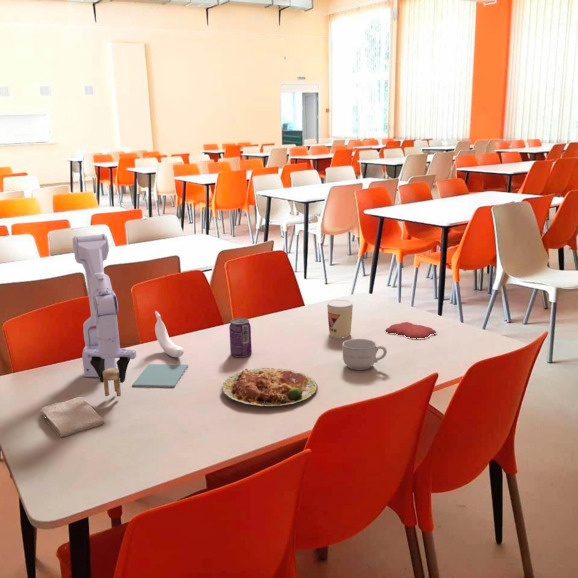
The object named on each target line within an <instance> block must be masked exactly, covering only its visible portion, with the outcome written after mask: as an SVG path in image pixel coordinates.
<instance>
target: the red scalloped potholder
mask: <svg viewBox="0 0 578 578" xmlns="http://www.w3.org/2000/svg"><path fill="white" fill-rule="evenodd" d="M385 331H386V332H388V333H396V334H398V335H405V336H406V337H410V338H416V339H417V338H425V337H428V336H429V335H430V334H434V333H436V332H437V331H436V330H435V329H433V328H431V327H428V326H425V325H421V324H414V323H412V322H409V321H405V322H400V323H395V324H392V325H390V326H389V327H387V328H386V329H385V330H384V332H385ZM386 332H385V333H386ZM388 333H387V334H388ZM396 334H395V335H396ZM398 335H397V336H398ZM406 337H405V338H406Z"/></svg>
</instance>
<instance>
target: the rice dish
mask: <svg viewBox="0 0 578 578" xmlns="http://www.w3.org/2000/svg"><path fill="white" fill-rule="evenodd" d="M308 387H309V388H308ZM221 390H222V392H223V393H224V395H226V396H227V398H230V399H231V400H233V401H236V402H238V403H241V404H247V405H252V406H255V405H256V406H257V407H262V406H265V407H275V406H286V405H287V406H288V405H292V404H295V403H298V402H303V401H306V400H308V399H310V397H312V396H313V395H314V394H315V393H316V392H317V390H318V383H316V381H315V380H314V379H313V378H312V377H310V376H308V375H306V374H305V373H302V372H299V371H296V370H290V369H285V368H277V367H272V368H270V367H262V368H254V369H248V368H244V369H242V371H239V372H237V373H235V374H232V375H231V376H229V377H227V379H224V381H223V383H222V385H221ZM304 392H307V394H305V395H303V393H304ZM266 404H267V405H266Z"/></svg>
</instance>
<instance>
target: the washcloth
mask: <svg viewBox="0 0 578 578" xmlns="http://www.w3.org/2000/svg"><path fill="white" fill-rule="evenodd" d="M41 413H42V415H43V416H45V417H46V418H44V420H45V419H46V420H45V421H46V423H47V424H48V423H49V424H48V425H49V427H50V428H51V429H52V430H53V431H54V433H56V435H57V436H58V437H59V438H64V437H67V436H70V435H74V434H75V433H79V432H82V431H87V430H90V429H92V428H95V427H100V426H101V425H103V424H104V423H105V422H104V420H103V417H102V416H101V415H100V414H99V413H98V412H97V411H96V410H95V409H94V407H92V406H91V405H90V404H89V403H88V402H87V401H86V399H84V397H83V396H82V397H81V396H78V397H74V398H72V399H69V400H66V401H62V402H55V403H52V404H49V405H45V406H43V407H42V408H41Z"/></svg>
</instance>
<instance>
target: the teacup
mask: <svg viewBox="0 0 578 578" xmlns="http://www.w3.org/2000/svg"><path fill="white" fill-rule="evenodd" d="M341 344H342V359H343V362H344V364H345V365H346V366H348V367H349V368H350V369H352V370H356V371H362V370H368V369H370V368H371V367H372V366H373V365H374V364H376V363H378V362H379V361H380V360H383V359H384V358H385V357H386V355H387V353H388V351H387V348H386V347H385V346H384V345H377V342H376V341H373V340H372V339H366V338H352V339H347V340H344V341H343V342H342V343H341ZM378 350H382V351H383V353H382V354H381V355H380V356H378V357H377V354H378V352H379V351H378Z"/></svg>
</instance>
